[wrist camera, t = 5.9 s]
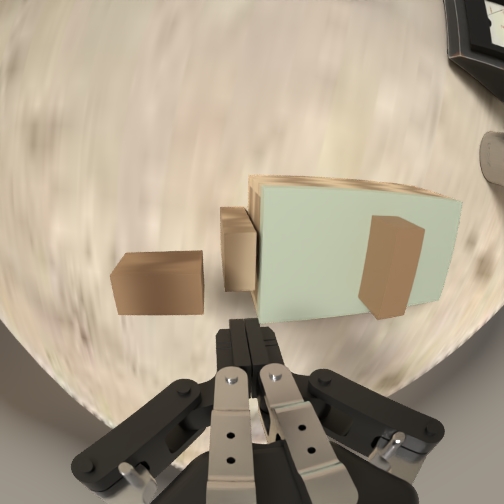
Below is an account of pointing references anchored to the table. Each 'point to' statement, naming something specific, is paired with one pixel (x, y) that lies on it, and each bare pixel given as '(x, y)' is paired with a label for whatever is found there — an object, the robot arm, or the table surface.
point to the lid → (351, 251)
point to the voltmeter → (478, 40)
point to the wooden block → (159, 283)
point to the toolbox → (248, 226)
